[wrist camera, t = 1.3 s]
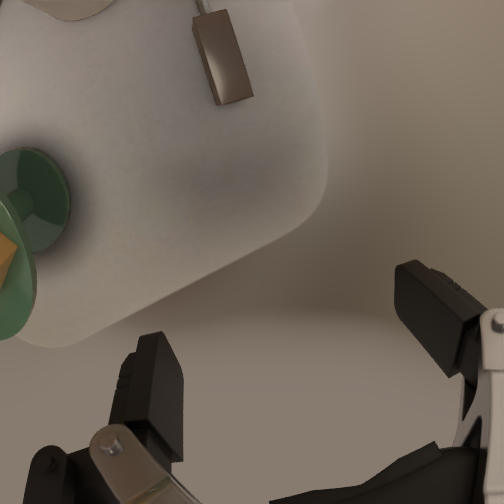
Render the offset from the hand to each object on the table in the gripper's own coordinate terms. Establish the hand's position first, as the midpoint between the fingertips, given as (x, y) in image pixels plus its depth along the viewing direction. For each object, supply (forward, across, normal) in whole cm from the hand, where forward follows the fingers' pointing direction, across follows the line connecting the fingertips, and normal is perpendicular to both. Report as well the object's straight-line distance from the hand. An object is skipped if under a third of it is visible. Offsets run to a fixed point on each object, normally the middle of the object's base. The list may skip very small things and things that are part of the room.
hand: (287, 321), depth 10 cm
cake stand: (+18, +19, -6) cm, 27 cm away
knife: (+18, -1, -15) cm, 23 cm away
